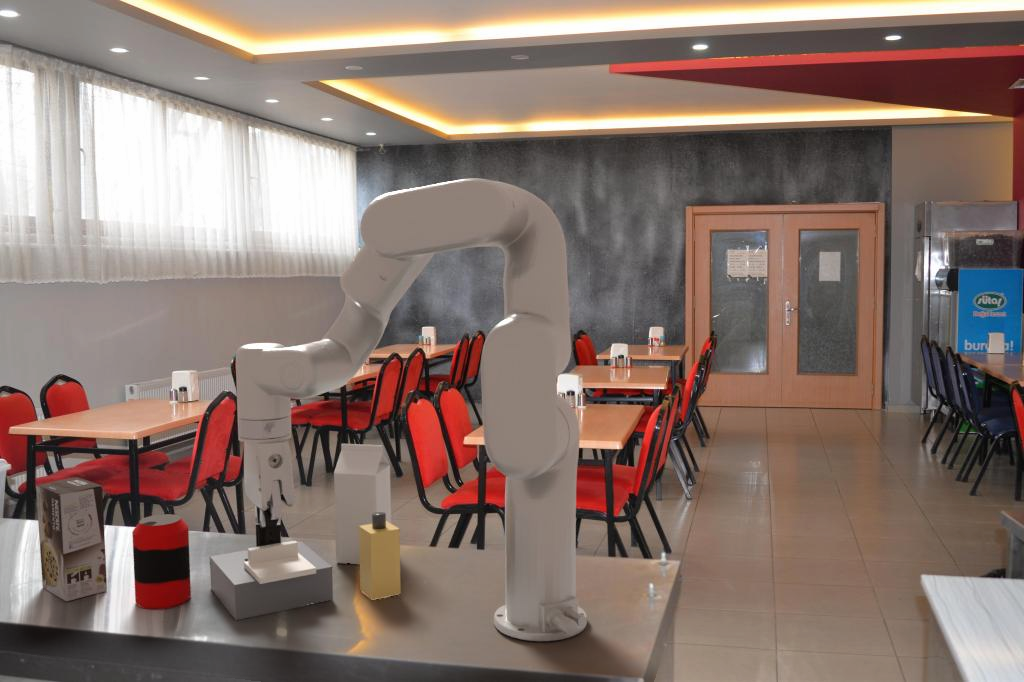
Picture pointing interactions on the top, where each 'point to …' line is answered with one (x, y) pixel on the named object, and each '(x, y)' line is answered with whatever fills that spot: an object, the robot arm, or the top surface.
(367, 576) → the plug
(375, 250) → the robot arm
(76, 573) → the coffee box
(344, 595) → the top surface
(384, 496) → the milk carton
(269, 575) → the plate
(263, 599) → the socket housing
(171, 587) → the soda can
